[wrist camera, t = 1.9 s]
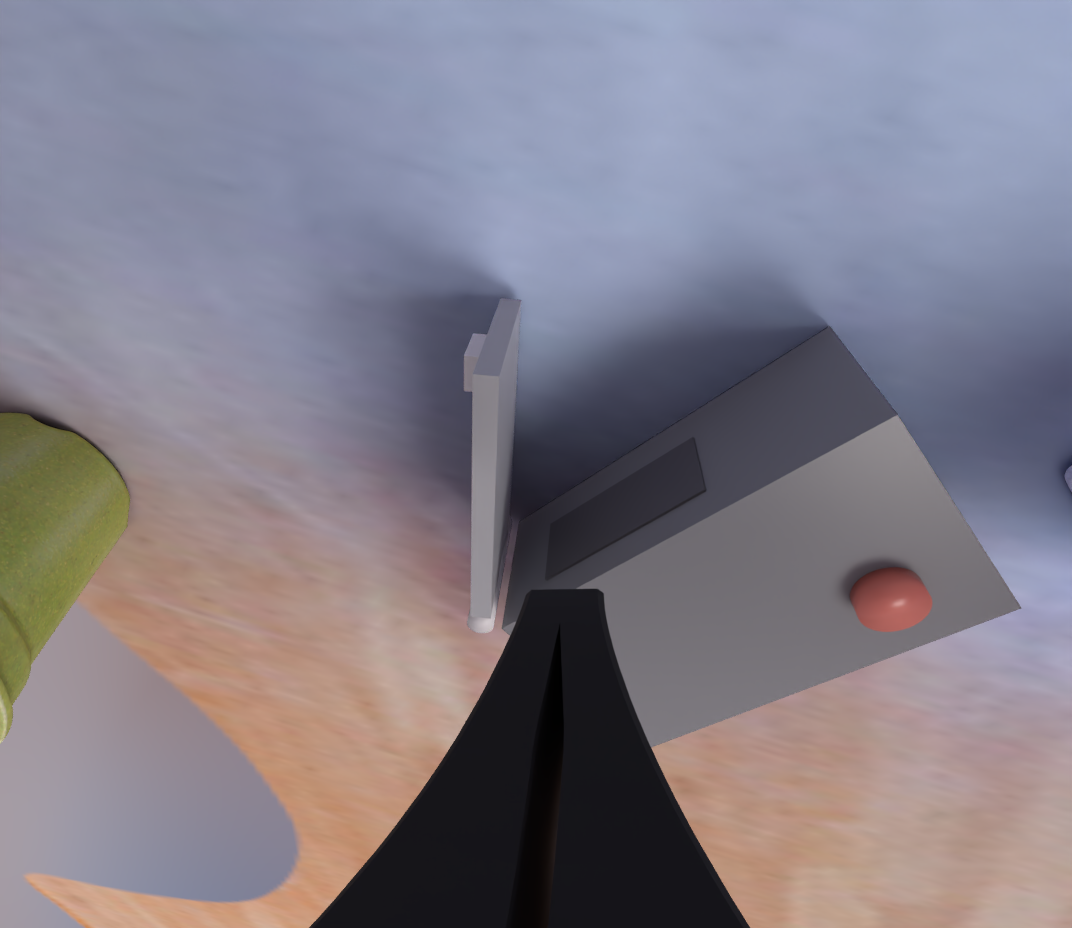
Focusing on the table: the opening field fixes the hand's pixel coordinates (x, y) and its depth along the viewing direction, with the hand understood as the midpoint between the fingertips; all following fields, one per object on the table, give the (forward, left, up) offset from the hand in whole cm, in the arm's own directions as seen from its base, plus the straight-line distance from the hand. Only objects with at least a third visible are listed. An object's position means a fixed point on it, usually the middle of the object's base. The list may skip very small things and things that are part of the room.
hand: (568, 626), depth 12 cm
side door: (+3, -1, -9) cm, 10 cm away
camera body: (-1, +7, -10) cm, 12 cm away
